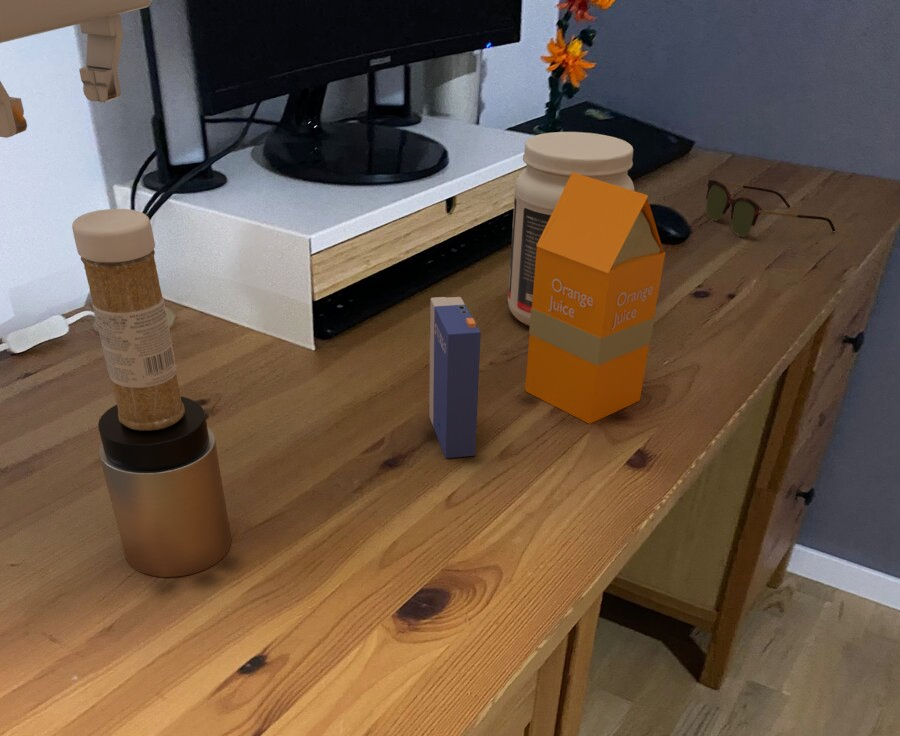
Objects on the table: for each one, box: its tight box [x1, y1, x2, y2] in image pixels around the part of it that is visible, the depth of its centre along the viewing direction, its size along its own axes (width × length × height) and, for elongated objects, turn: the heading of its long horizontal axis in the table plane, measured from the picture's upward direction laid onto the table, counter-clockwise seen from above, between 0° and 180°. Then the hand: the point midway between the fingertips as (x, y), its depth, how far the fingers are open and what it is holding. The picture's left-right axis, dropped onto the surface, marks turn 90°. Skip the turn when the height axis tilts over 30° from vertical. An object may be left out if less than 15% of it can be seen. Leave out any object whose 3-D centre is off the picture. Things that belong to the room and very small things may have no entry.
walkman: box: [428, 296, 482, 459], centre depth 80 cm, size 8×3×12 cm, turn 12°
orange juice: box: [524, 172, 666, 425], centre depth 84 cm, size 8×9×20 cm
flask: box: [97, 395, 232, 578], centre depth 67 cm, size 8×8×11 cm
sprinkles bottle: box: [71, 208, 185, 431], centre depth 59 cm, size 5×5×14 cm
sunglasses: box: [705, 179, 836, 238], centre depth 133 cm, size 14×15×5 cm
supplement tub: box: [507, 131, 636, 327], centre depth 100 cm, size 13×13×18 cm
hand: (58, 115), depth 55 cm, fingers open, 8 cm apart
